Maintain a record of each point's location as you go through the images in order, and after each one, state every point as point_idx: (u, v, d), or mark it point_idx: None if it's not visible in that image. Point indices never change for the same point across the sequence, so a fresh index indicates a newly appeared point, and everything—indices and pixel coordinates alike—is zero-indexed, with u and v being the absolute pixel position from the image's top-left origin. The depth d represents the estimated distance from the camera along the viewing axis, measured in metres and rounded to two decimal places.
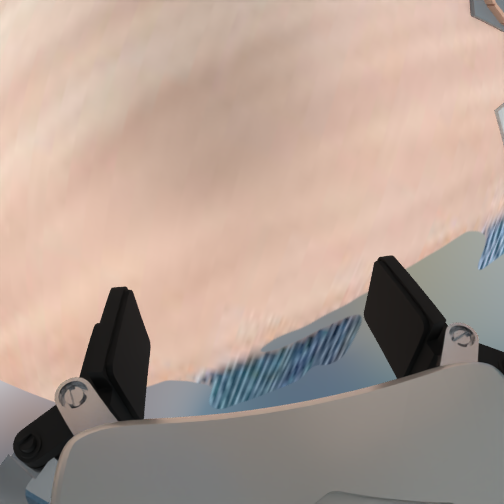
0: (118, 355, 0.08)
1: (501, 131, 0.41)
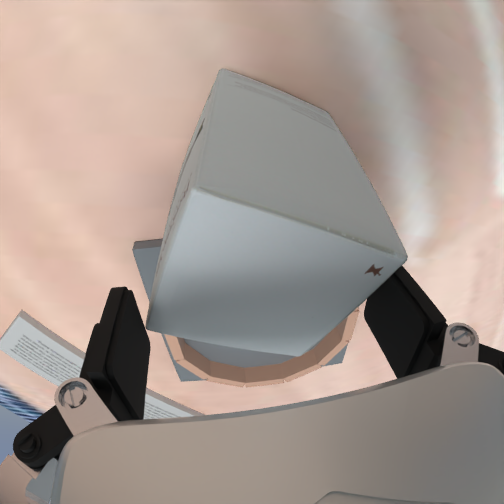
0: (118, 355, 0.08)
1: (9, 327, 0.28)
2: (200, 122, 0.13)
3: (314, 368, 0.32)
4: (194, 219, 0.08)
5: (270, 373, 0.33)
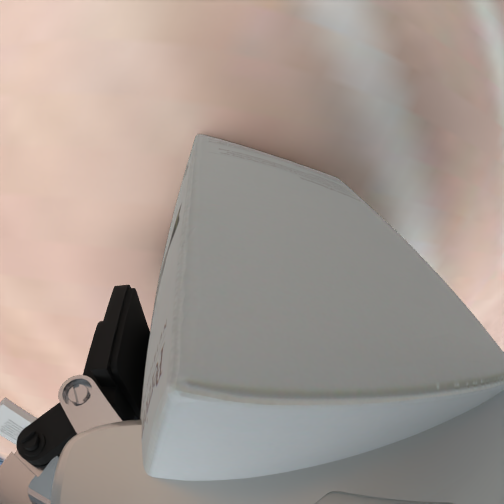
0: (121, 352, 0.08)
1: None
2: (176, 211, 0.09)
3: None
4: (186, 435, 0.03)
5: None
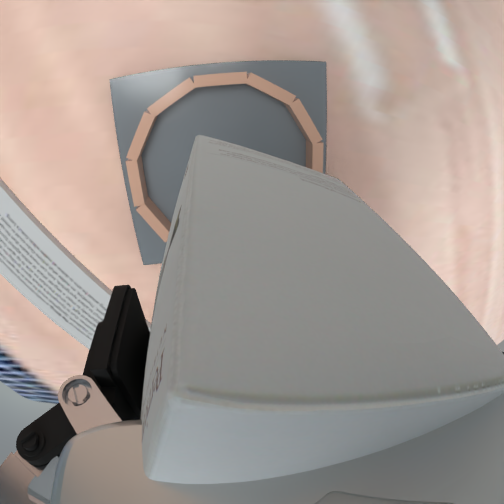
0: (121, 352, 0.08)
1: None
2: (176, 212, 0.09)
3: None
4: (187, 441, 0.03)
5: None
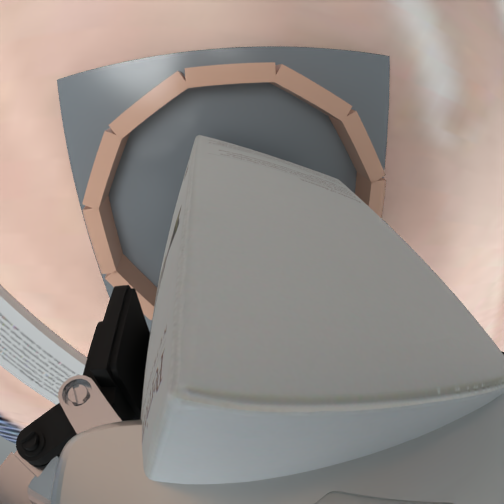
0: (121, 352, 0.08)
1: None
2: (176, 213, 0.09)
3: None
4: (187, 442, 0.03)
5: None
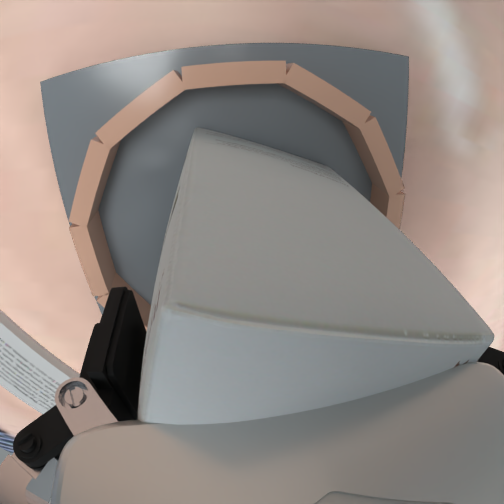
0: (118, 355, 0.08)
1: None
2: (176, 194, 0.10)
3: None
4: (177, 360, 0.04)
5: None
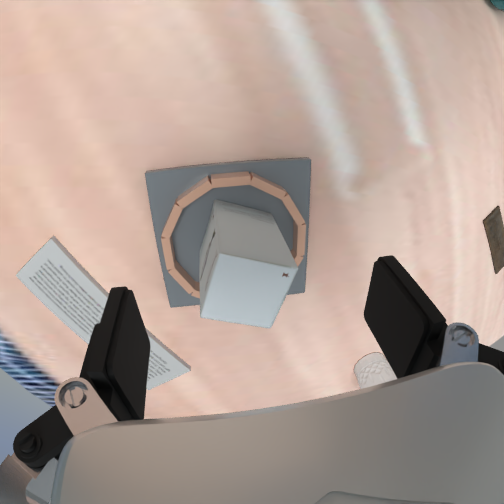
0: (118, 355, 0.08)
1: None
2: (212, 230, 0.32)
3: None
4: (220, 263, 0.26)
5: None
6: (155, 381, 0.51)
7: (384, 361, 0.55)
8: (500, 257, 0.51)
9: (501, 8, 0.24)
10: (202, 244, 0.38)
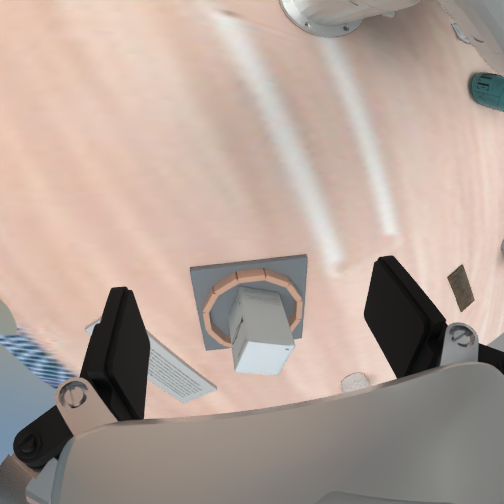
0: (118, 355, 0.08)
1: None
2: (240, 314, 0.49)
3: None
4: (248, 345, 0.43)
5: None
6: (189, 397, 0.68)
7: (363, 380, 0.72)
8: (464, 300, 0.67)
9: (483, 105, 0.39)
10: (231, 314, 0.54)
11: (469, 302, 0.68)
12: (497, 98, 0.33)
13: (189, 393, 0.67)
